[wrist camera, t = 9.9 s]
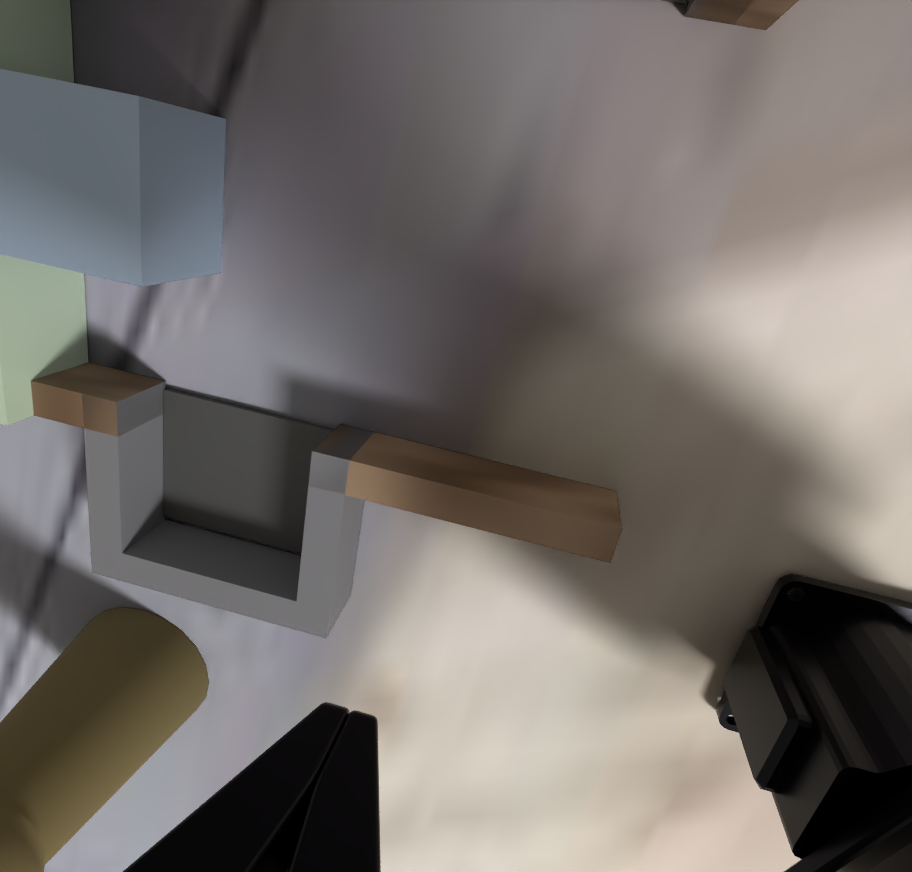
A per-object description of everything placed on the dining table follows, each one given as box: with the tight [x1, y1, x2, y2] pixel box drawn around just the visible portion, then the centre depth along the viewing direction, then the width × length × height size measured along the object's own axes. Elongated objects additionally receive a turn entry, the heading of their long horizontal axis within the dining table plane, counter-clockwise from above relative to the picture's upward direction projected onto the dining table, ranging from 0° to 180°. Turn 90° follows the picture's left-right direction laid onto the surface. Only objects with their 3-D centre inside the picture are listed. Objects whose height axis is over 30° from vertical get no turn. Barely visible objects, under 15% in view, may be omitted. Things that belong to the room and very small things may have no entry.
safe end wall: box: [0, 0, 88, 425], centre depth 17 cm, size 1×15×4 cm, turn 170°
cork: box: [0, 607, 209, 872], centre depth 21 cm, size 6×6×11 cm
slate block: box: [0, 69, 226, 287], centre depth 17 cm, size 4×4×4 cm
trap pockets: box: [82, 0, 737, 638], centre depth 17 cm, size 16×27×2 cm, turn 170°
